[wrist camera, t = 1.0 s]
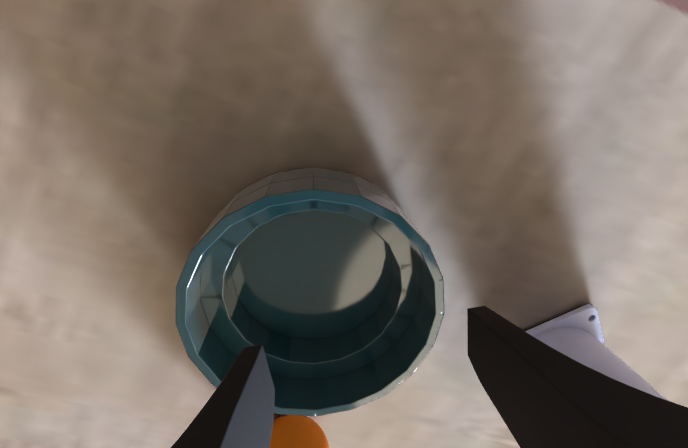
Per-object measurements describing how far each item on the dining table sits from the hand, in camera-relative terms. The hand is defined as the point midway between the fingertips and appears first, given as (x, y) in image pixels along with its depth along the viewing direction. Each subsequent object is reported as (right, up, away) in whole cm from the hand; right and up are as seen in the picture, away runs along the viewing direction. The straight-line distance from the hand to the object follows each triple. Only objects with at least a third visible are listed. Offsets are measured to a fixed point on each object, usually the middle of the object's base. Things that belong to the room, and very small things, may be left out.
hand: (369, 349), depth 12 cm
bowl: (-3, +2, +10) cm, 10 cm away
